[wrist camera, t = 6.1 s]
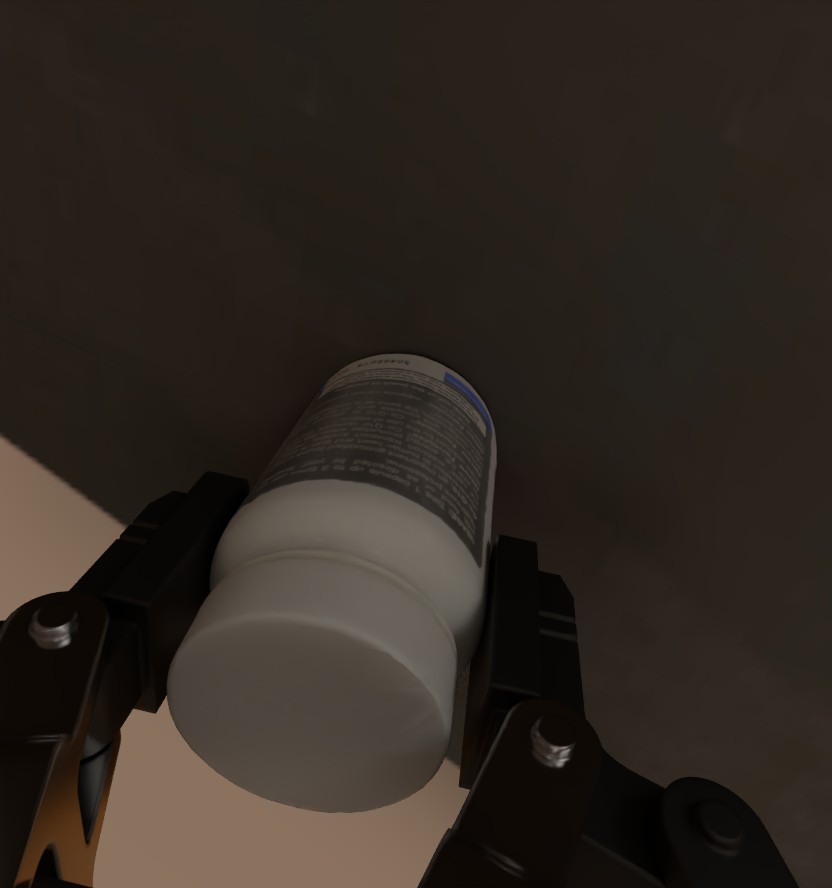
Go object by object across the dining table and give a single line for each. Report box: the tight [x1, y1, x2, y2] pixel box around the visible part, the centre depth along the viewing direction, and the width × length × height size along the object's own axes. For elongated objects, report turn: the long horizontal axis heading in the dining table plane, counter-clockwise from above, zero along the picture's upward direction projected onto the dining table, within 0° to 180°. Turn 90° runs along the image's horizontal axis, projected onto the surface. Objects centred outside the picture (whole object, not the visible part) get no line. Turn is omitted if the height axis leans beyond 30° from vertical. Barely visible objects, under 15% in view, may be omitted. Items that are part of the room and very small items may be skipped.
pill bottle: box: [166, 354, 497, 813], centre depth 12 cm, size 5×5×8 cm
